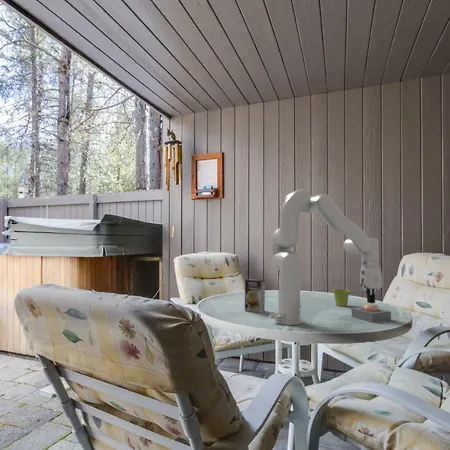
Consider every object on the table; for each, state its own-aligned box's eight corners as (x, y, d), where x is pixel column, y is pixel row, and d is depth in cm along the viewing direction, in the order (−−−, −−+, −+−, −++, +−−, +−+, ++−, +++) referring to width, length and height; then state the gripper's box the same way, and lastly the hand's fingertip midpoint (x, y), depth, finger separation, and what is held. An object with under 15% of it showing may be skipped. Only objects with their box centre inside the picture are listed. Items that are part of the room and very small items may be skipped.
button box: (372, 322, 141) (372, 313, 141) (351, 316, 152) (351, 308, 152) (391, 320, 146) (390, 311, 146) (369, 314, 157) (369, 306, 157)
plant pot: (339, 307, 174) (339, 291, 174) (329, 304, 183) (329, 289, 183) (353, 306, 176) (353, 291, 177) (343, 303, 185) (343, 288, 186)
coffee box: (244, 311, 163) (244, 279, 164) (249, 308, 168) (249, 278, 169) (260, 313, 159) (260, 280, 159) (265, 310, 164) (265, 279, 165)
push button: (371, 313, 145) (371, 307, 146) (361, 311, 151) (361, 304, 151) (380, 312, 148) (380, 306, 148) (370, 310, 153) (370, 304, 153)
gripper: (365, 264, 144) (366, 305, 143) (388, 264, 150) (389, 303, 149) (352, 263, 151) (353, 302, 150) (374, 263, 157) (375, 300, 156)
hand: (371, 302), depth 150 cm, fingers closed
